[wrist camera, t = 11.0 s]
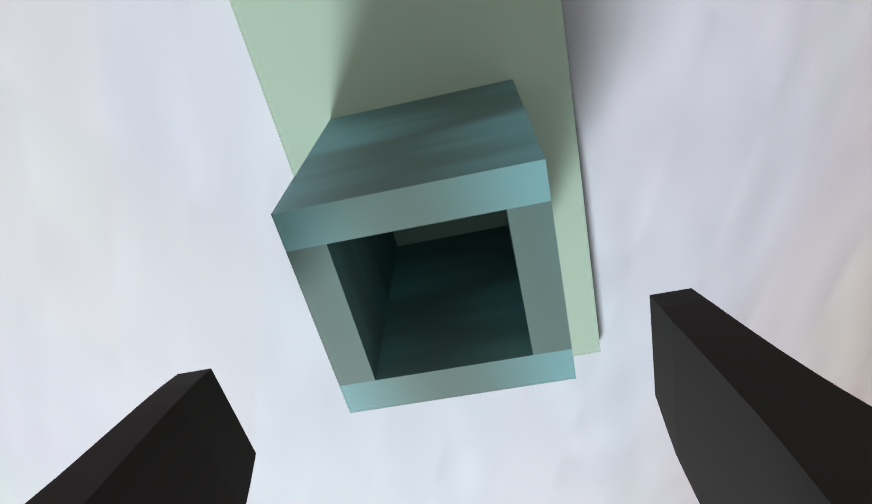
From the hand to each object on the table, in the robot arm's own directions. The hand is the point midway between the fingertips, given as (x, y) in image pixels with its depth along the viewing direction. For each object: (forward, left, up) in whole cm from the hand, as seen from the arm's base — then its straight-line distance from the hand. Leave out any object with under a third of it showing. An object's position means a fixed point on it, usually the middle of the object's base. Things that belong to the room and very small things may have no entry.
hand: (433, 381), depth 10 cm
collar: (0, 0, -8) cm, 8 cm away
